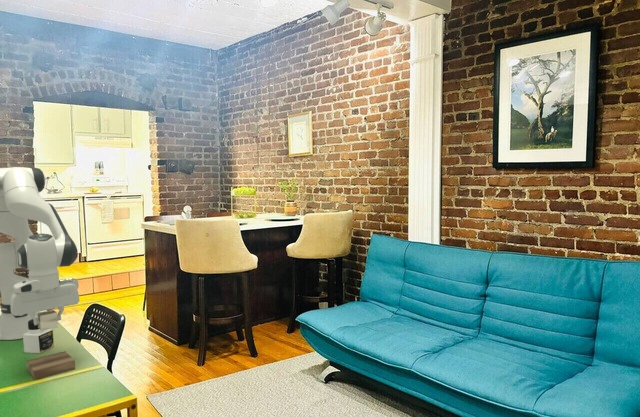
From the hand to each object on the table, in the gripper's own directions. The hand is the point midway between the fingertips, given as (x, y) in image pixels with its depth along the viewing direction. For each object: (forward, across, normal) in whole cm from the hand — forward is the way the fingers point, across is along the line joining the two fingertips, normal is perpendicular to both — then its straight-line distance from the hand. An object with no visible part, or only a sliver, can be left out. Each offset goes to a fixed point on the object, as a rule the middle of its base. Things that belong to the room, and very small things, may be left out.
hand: (47, 322), depth 162 cm
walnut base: (+16, 0, 0) cm, 16 cm away
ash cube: (+2, 0, 0) cm, 2 cm away
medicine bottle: (+16, -1, -24) cm, 29 cm away
